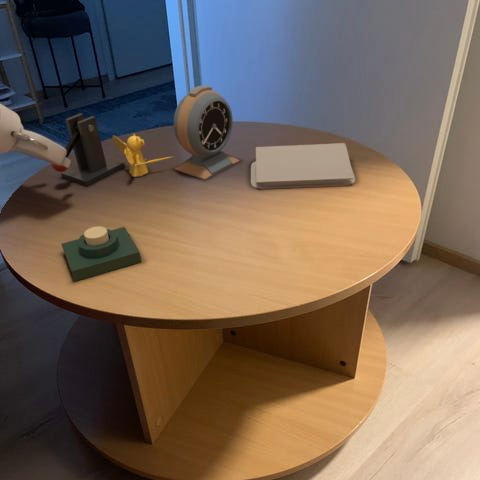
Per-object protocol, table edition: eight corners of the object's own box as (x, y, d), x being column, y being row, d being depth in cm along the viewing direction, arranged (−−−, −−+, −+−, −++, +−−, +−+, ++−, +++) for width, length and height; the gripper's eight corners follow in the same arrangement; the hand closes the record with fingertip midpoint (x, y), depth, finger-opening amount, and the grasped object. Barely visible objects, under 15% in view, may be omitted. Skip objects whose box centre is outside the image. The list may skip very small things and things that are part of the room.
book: (251, 160, 121) (250, 144, 119) (347, 156, 120) (348, 140, 117) (250, 189, 110) (250, 172, 107) (357, 185, 108) (359, 168, 106)
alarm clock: (201, 181, 114) (192, 100, 102) (171, 171, 119) (160, 92, 107) (242, 159, 122) (238, 81, 110) (213, 150, 127) (206, 75, 115)
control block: (75, 281, 87) (68, 262, 84) (64, 253, 94) (58, 234, 91) (141, 261, 90) (137, 242, 88) (126, 236, 97) (122, 218, 95)
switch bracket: (87, 186, 115) (72, 130, 107) (62, 177, 119) (45, 123, 111) (125, 167, 122) (113, 112, 114) (100, 159, 126) (87, 106, 118)
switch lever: (66, 176, 113) (55, 167, 110) (56, 173, 115) (45, 163, 111) (95, 127, 114) (85, 116, 111) (85, 124, 116) (74, 114, 113)
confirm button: (89, 249, 88) (86, 240, 87) (84, 238, 91) (81, 230, 89) (111, 242, 89) (109, 234, 88) (106, 232, 92) (103, 224, 91)
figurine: (181, 173, 118) (176, 136, 112) (131, 185, 114) (123, 147, 108) (165, 155, 126) (159, 120, 120) (118, 166, 123) (110, 130, 117)
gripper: (36, 122, 93) (90, 155, 105) (-24, 106, 103) (31, 138, 115) (24, 154, 93) (79, 183, 105) (-35, 135, 103) (21, 163, 115)
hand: (54, 159), depth 110 cm, fingers open, 8 cm apart
